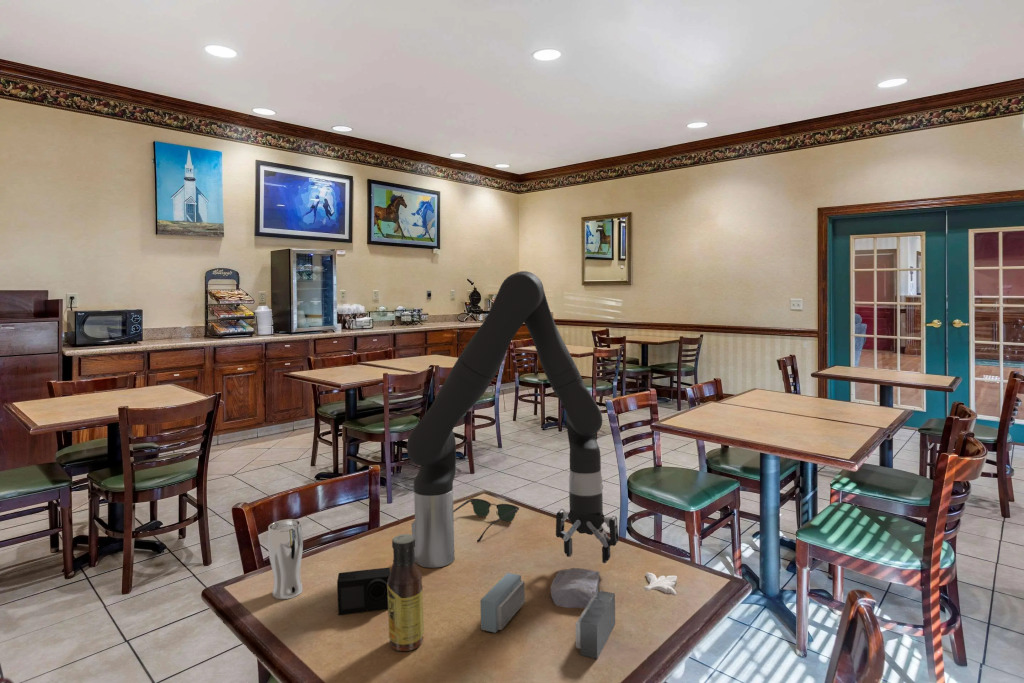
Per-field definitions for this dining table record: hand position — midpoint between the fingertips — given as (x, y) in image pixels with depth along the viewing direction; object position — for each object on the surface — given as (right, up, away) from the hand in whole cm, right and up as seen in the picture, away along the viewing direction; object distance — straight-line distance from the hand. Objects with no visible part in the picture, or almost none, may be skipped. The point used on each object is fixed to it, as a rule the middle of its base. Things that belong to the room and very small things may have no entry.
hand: (587, 558), depth 134 cm
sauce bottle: (-36, -5, -28) cm, 46 cm away
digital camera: (-47, -5, -15) cm, 50 cm away
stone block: (-4, -4, -11) cm, 12 cm away
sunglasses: (-26, -2, +27) cm, 38 cm away
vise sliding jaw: (-19, -4, -20) cm, 27 cm away
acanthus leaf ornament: (+15, -4, -8) cm, 17 cm away
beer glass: (-66, -5, -8) cm, 66 cm away
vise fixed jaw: (-2, -4, -27) cm, 28 cm away
